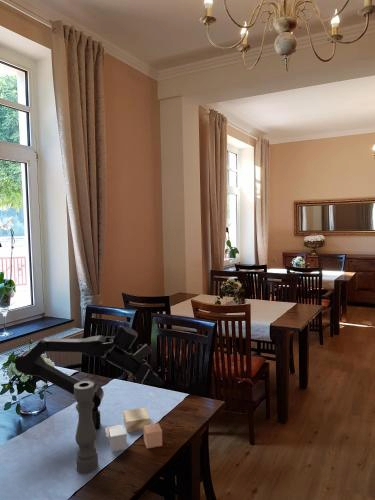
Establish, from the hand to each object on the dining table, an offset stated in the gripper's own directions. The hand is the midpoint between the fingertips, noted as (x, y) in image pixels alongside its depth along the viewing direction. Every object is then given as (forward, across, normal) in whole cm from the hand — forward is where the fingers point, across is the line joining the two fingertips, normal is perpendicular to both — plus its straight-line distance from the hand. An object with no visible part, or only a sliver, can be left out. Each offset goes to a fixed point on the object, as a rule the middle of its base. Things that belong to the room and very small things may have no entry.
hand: (161, 381), depth 138 cm
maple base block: (+1, +6, +17) cm, 18 cm away
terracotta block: (+6, -7, +17) cm, 20 cm away
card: (-6, +3, +22) cm, 23 cm away
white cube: (-4, -6, +23) cm, 24 cm away
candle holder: (-10, -15, +30) cm, 35 cm away
